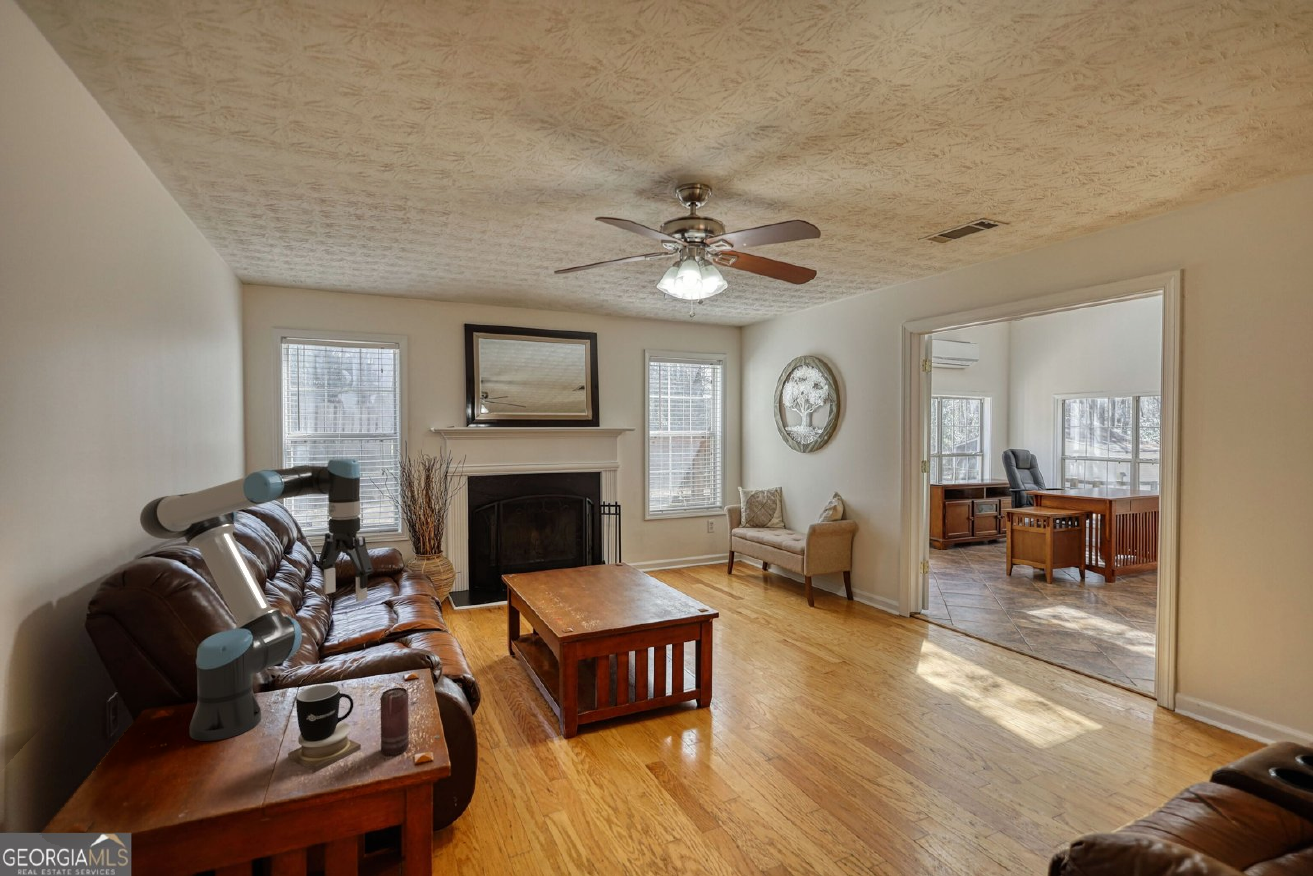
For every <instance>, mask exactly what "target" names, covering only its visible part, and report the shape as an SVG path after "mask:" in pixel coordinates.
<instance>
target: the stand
mask: <svg viewBox="0 0 1313 876" xmlns="http://www.w3.org/2000/svg"><path fill="white" fill-rule="evenodd" d="M350 732H351V726H350V725H349V724H348V723H346V722H344V721H340V722H339V723H338V724H337V726H336V729H335V731H334V733H333V734H332V735H331V736H330V737H328V738H326V739H324V740H320V741H315V742H309V741H305V740H304V739H303V738H302V736H301V733H300V734H299V735H298V741H297V742H298V744H299V745H300V747H299V748H296V749H294V750H292V751H289V752H287V758H288V759H289V760H291V761H293V762H296V763H297V764H300V765H301V766H304V767H306V768H307V769H310V770H312V771H314V772H315V773H316V772H318V771H320V770H322V769H324V768H326V767H329V766H330V765H332V764H335V763H336V762H338V761H340V760H342V759H344V758H345V757H349V756H350V755H353V754H354V753H355V752H358V751H360V750H361V749H362V748H361V747H362V746H361V745H362V744H361V743H359V742H357V741H354V740H352V739H350V738H348V736H349V735H350Z"/></svg>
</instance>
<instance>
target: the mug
mask: <svg viewBox="0 0 1313 876" xmlns="http://www.w3.org/2000/svg"><path fill="white" fill-rule="evenodd" d="M342 698H345V699H347V700H348V701H349V704H350V706H349V708H348V710H347V712H346V713H345V714H344V715H342V716H341V717H339V710H340V700H341V699H342ZM295 703H296V704H295V706H296V715H297V722H298V729H299V733H300V734H301V736H302V738H303V739H304V740H305V741H309V742H315V741H320V740H324V739H326V738H328V737H330V736H331V735H332V734H333V733H334V731H335V729H336V726H337V724H338V723H339V722H343V721H344V720H345V719H347V718H348V717H349V716H350V714H351V713H352V711H353V709H354V701H353V698H352V696H351V695H349V694H346V693H344V692H343V693H341V692H340V688H339V686H337V685H334V684H320V685H313V686H310V687H307V688H305V689H303V690H301V691H300V692H298V693H297V694H296V698H295Z"/></svg>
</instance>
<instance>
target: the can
mask: <svg viewBox="0 0 1313 876" xmlns="http://www.w3.org/2000/svg"><path fill="white" fill-rule="evenodd" d="M409 725H410V724H409V692H408V691H407V689H406V688H405V687H393V688H389V689H386V690H384V691H383V692H382V694H381V697H380V751H381V752H382V754H383V755H384V756H389V757H391V756H398V755H401V754H402V753H404V752H406V751H407V750H408V748H409V745H410V743H409V742H410V741H409V740H410V739H409V737H410V735H409V733H410V731H409V728H410V727H409Z"/></svg>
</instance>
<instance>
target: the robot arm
mask: <svg viewBox="0 0 1313 876" xmlns="http://www.w3.org/2000/svg"><path fill="white" fill-rule="evenodd" d="M360 483H361V473H360V462H359V461H358V459H355V458H334V459H330V460H328V462H327V466H322V465H321V466H320V465H309V464H307V465H306V464H304V465H295V466H292V467H288V468H279V469H262V470H258V471H254V472H250V473H249V474H248V475H247V476H246V477H242V478H238V479H236V480H231V481H229V482H225V483H222V484H219V485H216V486H215V485H214V486H212V487H208V488H206V489H202V490H199V491H198V490H197V491H195V492H190V493H183V494H174V495H173V494H172V495H165V496H161V497H157V498H154V499H153V500H151V501H149V502H148V503H147V504H146V505H145V506H144V507H143V508H142V510H141V512H140V516H139V522H140V524H141V525H140V526H141V527H142V529H143V530H144V531H145V532H146V534H148V535H149V536H151V537H154V538H156V539H157V538H158V539H162V540H170V539H179V538H183V537H184V539H185V541H186V543H187V544H188V546H189V547H191V548H194V549H198V551H199V553H200V555H201V556H202V558H203V561H204V562H205V564H206V566H207V568H208V570H209V572H210V574H211V575H212V578H213V580H214V581H215V583H216V585H217V587H218V589H219V592H221V595H222V598H223V599H224V601H225V603H226V604H227V607H228V609H229V610H230V612H231V614H232V616H233V619H234V620H235V621H236V626H235V628H233V629H232V628H231V629H228V630H226V631H220V632H218V633H214V634H212V635H211V636H208V637H207V638H205V639H204V640H202V641H201V642H200V644H199V645H198V647H197V652H196V658H195V664H196V677H197V678H196V679H197V680H196V681H197V682H196V683H197V704H196V707H195V709H194V712H193V715H192V719H191V721H190V724H189V737H190V738H191V739H193V740H195V741H199V742H211V741H220V740H225V739H229V738H232V737H236V736H238V735H241V734H243V733H246V732H248V731H250V730H252V729H253V728H255V727H256V726H258V725H259V724H260V723H261V720H262V709H261V707H260V705H259V702H258V700H257V697H256V696H255V693H254V690H253V688H254V687H253V684H254V683H253V681H254V680H253V678H254V677H253V676H255V675H256V674H259V673H261V672H263V671H265V670H267V669H269V668H272V667H274V666H276V665H279V664H282V663H284V662H285V661H287V659H288V660H289V658H291V657H293V656H294V655H295V654H296V653H297V652H298V650H300V647H301V642H302V640H303V634H302V633H303V632H302V627H301V625H300V623H299V622H298V621H297V620H296V619H295V618H294V617H293V618H292V617H291V616H288V615H287V616H285V615H283V613H282V612H281V610H280V608H276V607H274V606H271V604H270V602H269V601H268V599H267V597H266V595H265V593H264V591H263V590H262V587H261V585H260V584H259V582H258V580H257V577H256V575H255V574H254V572H253V570H252V568H251V566H250V564H249V563H248V561H247V559H246V557H245V555H244V553H243V551H242V550H241V548H240V547H239V546H240V545H239V544H238V542H237V540H236V539H235V536H234V535H233V534H234V531H235V529H236V525H235V522H236V520H237V518H238V514H237V513H238V511H241V510H244V509H248V508H251V507H255V506H259V505H262V504H266V503H269V502H273V501H276V500H281V499H282V500H283V499H287V498H296V497H302V496H308V495H327V497H328V498H327V499H328V507H327V509H328V517H330V518H329V520H328V533H325V534H324V542H323V545H322V549H321V553H320V555H319V559H318V562H317V565H318V566H319V567H322V570H323V579H324V586H323V587H324V588H323V589H324V594H325V595H327V594H331V593H332V594H333V593H336V568H335V567H336V565H335V564H336V562H337V560H338V558H339V557H340V555H341V553H344V554H345V555H346V556H348V557H349V559H350V561H351V564H352V565H353V568H354V570H355V572H356V575H355V602H359V603H360V602H361V601H365V600H368V586H369V585H368V583H369V582H368V581H369V580H368V579H369V577H368V576H369V575H371V574H373V573H374V567H373V565H372V561H371V558H370V555H369V552H368V548H367V545H366V543H367V542H366V537H365V536H361V537H358V536H357V533H358V532H359V531H360V530H361V518H360V515H361V500H360V499H361V497H360V491H361V490H360V489H361V485H360Z"/></svg>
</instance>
